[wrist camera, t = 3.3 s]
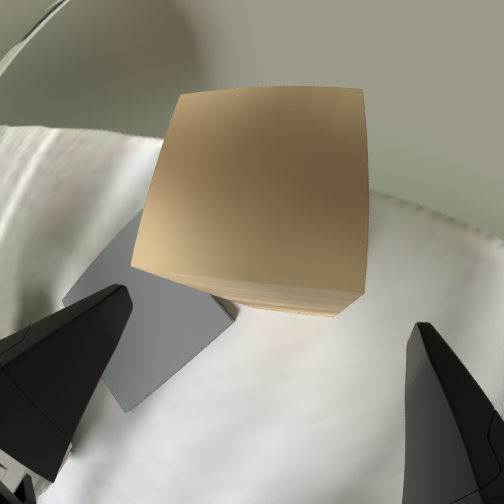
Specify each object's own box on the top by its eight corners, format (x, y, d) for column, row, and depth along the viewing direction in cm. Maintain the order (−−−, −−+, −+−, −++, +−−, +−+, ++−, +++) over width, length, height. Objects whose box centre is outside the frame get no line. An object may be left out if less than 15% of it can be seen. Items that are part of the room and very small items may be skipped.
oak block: (333, 317, 17) (364, 293, 5) (254, 307, 19) (130, 266, 6) (340, 238, 18) (362, 89, 6) (264, 232, 20) (180, 94, 7)
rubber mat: (130, 410, 19) (124, 412, 18) (68, 301, 22) (62, 300, 22) (235, 321, 19) (231, 320, 18) (148, 211, 22) (142, 208, 22)
